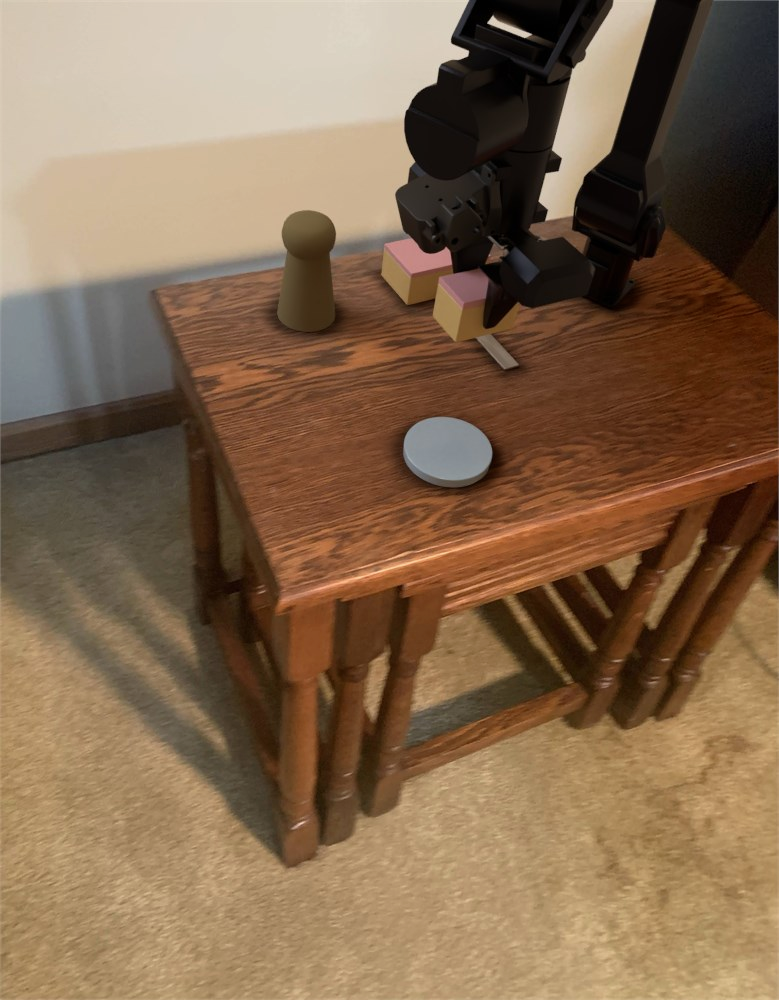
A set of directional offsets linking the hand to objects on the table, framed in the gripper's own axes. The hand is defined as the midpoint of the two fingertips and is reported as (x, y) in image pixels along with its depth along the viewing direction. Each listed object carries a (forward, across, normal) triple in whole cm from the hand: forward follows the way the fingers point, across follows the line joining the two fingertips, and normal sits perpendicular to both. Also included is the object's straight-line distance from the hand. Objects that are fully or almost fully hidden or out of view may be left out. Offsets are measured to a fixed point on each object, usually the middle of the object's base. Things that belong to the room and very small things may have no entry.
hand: (475, 312), depth 72 cm
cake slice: (+1, 0, 0) cm, 1 cm away
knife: (+10, -9, +8) cm, 16 cm away
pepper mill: (+11, -18, -8) cm, 22 cm away
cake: (+10, -19, +8) cm, 23 cm away
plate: (+11, +6, -4) cm, 13 cm away
